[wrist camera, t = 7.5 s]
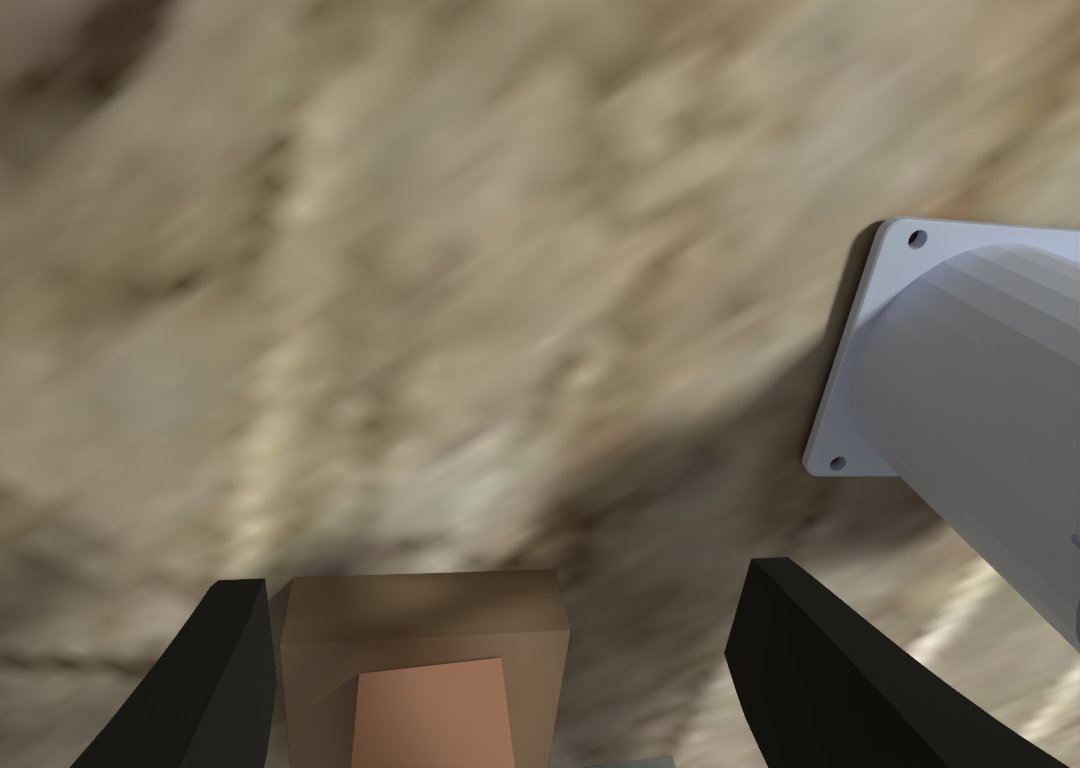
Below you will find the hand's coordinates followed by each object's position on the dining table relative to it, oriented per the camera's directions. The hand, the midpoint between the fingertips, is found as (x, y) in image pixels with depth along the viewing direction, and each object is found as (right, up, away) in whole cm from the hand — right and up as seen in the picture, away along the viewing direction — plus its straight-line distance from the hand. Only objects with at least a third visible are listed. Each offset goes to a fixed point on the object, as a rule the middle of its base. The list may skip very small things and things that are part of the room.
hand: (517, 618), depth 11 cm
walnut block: (-4, -6, +14) cm, 15 cm away
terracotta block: (-3, -7, +11) cm, 14 cm away
